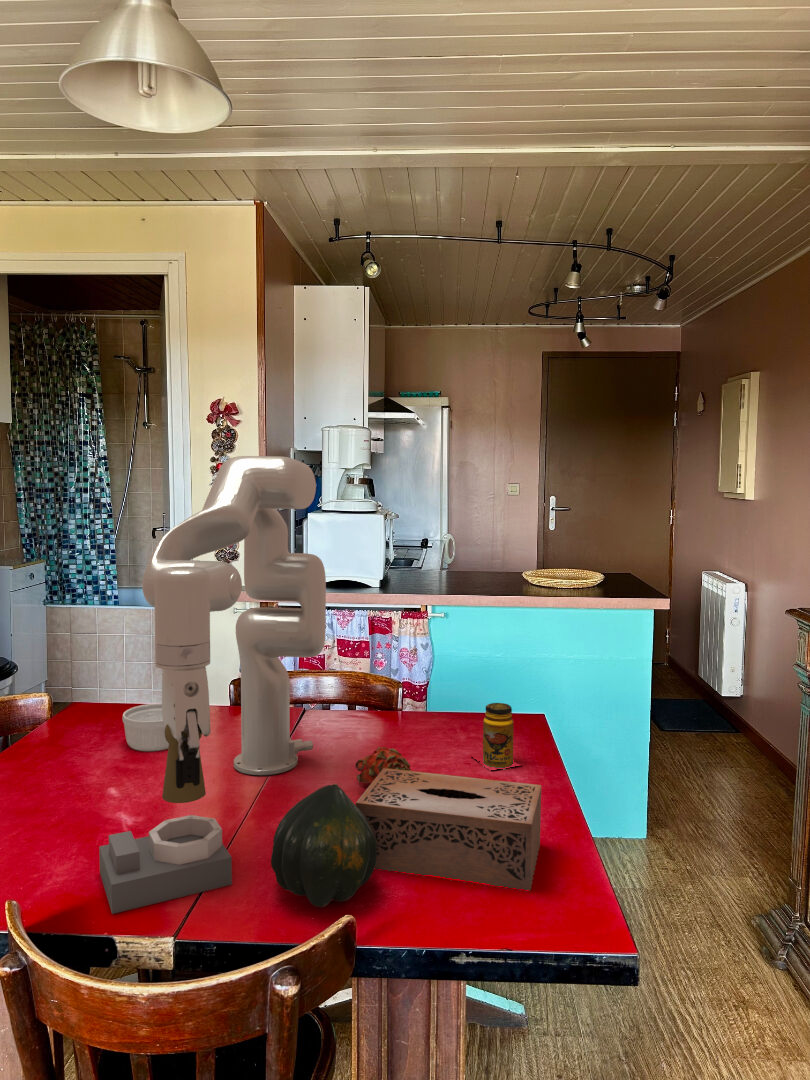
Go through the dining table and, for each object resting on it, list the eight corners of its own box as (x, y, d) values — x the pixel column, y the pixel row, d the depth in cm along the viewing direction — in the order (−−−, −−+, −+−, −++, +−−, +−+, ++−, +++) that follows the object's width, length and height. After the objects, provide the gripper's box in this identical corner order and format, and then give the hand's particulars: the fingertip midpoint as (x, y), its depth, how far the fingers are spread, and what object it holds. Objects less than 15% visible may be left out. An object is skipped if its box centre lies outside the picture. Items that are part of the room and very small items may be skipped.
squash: (265, 892, 98) (340, 792, 101) (241, 845, 112) (307, 758, 115) (346, 945, 103) (415, 848, 106) (313, 894, 116) (375, 809, 120)
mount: (209, 848, 120) (209, 808, 120) (231, 884, 110) (231, 840, 109) (99, 872, 113) (98, 829, 112) (112, 913, 102) (111, 866, 102)
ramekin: (200, 740, 170) (199, 709, 169) (151, 758, 159) (150, 725, 158) (159, 729, 177) (158, 699, 176) (109, 746, 166) (109, 714, 165)
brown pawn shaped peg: (193, 805, 108) (193, 727, 107) (153, 801, 109) (153, 724, 108) (213, 788, 114) (212, 714, 113) (174, 785, 115) (174, 711, 114)
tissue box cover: (355, 868, 116) (355, 802, 115) (383, 826, 129) (383, 767, 129) (530, 893, 109) (531, 824, 108) (539, 846, 123) (541, 785, 122)
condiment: (490, 772, 153) (491, 712, 152) (470, 757, 161) (471, 700, 160) (522, 767, 156) (524, 708, 155) (501, 753, 164) (502, 697, 163)
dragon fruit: (411, 808, 139) (358, 802, 146) (428, 769, 145) (377, 764, 152) (390, 779, 135) (337, 774, 142) (409, 739, 141) (357, 736, 148)
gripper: (225, 663, 105) (226, 796, 106) (195, 641, 119) (196, 758, 120) (168, 669, 101) (169, 806, 102) (144, 645, 116) (145, 766, 117)
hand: (183, 779), depth 111 cm, fingers closed on brown pawn shaped peg, 4 cm apart
